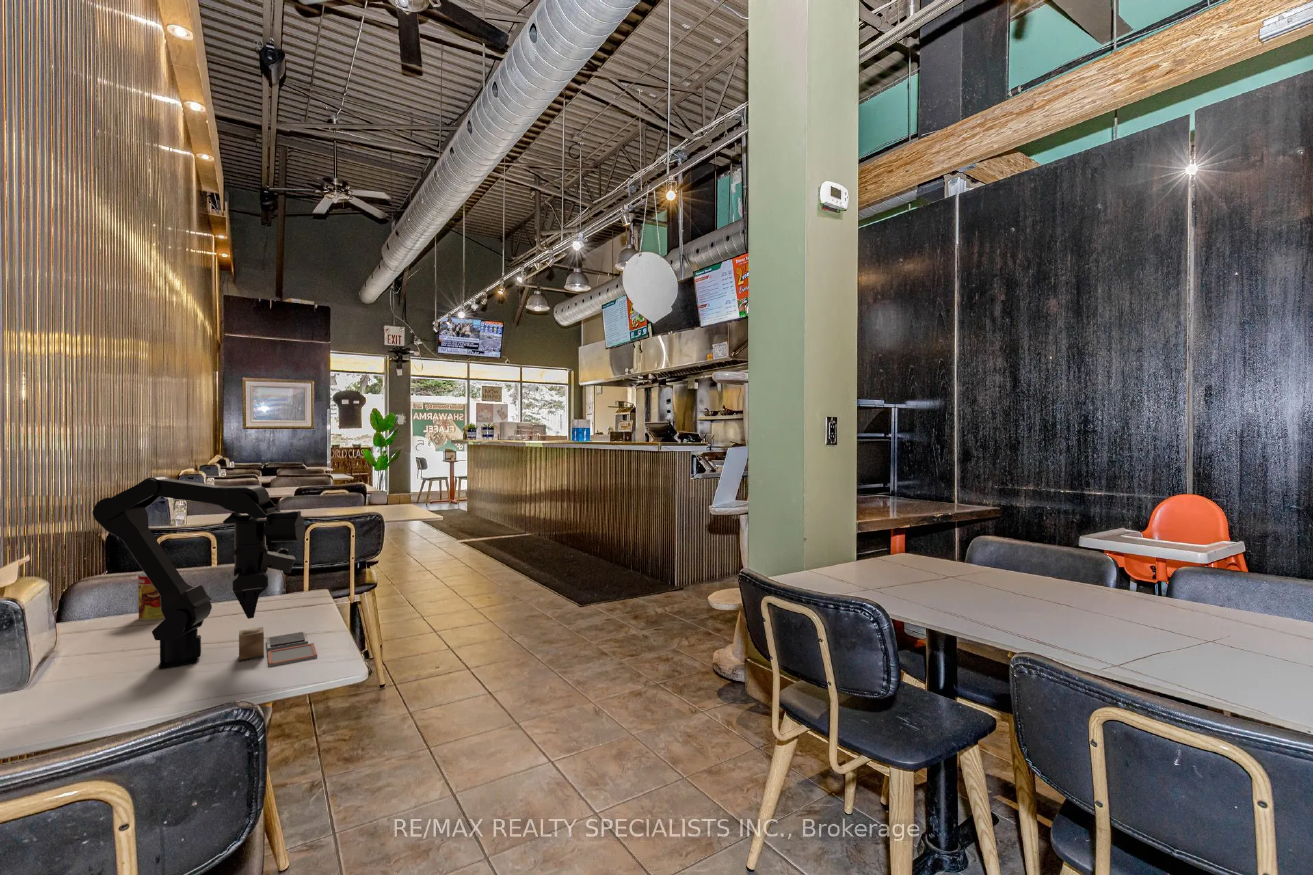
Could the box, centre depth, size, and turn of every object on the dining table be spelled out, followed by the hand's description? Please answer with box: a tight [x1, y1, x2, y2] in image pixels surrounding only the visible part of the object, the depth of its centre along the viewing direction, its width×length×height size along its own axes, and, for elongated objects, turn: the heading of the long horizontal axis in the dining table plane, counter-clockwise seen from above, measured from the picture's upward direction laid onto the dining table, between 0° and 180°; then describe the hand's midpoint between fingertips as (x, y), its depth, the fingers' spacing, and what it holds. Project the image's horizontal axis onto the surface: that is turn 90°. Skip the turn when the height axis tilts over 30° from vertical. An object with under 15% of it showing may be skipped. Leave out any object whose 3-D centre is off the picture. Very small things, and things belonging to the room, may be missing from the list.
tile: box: [267, 642, 318, 667], centre depth 134 cm, size 9×9×1 cm
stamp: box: [238, 626, 265, 663], centre depth 133 cm, size 4×4×6 cm
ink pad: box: [266, 631, 309, 652], centre depth 142 cm, size 8×8×1 cm
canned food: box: [137, 571, 165, 622], centre depth 163 cm, size 8×8×12 cm
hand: (250, 612), depth 133 cm, fingers open, 9 cm apart
